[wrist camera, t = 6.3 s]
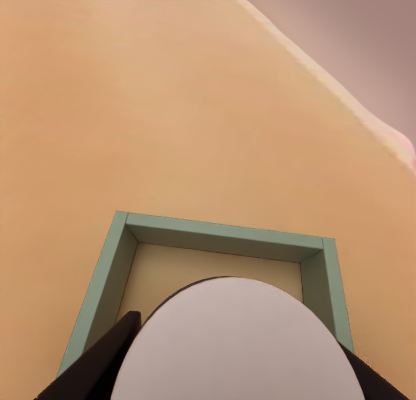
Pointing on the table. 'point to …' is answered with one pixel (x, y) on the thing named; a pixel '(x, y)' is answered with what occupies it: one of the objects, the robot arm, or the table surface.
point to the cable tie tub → (234, 348)
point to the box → (215, 242)
